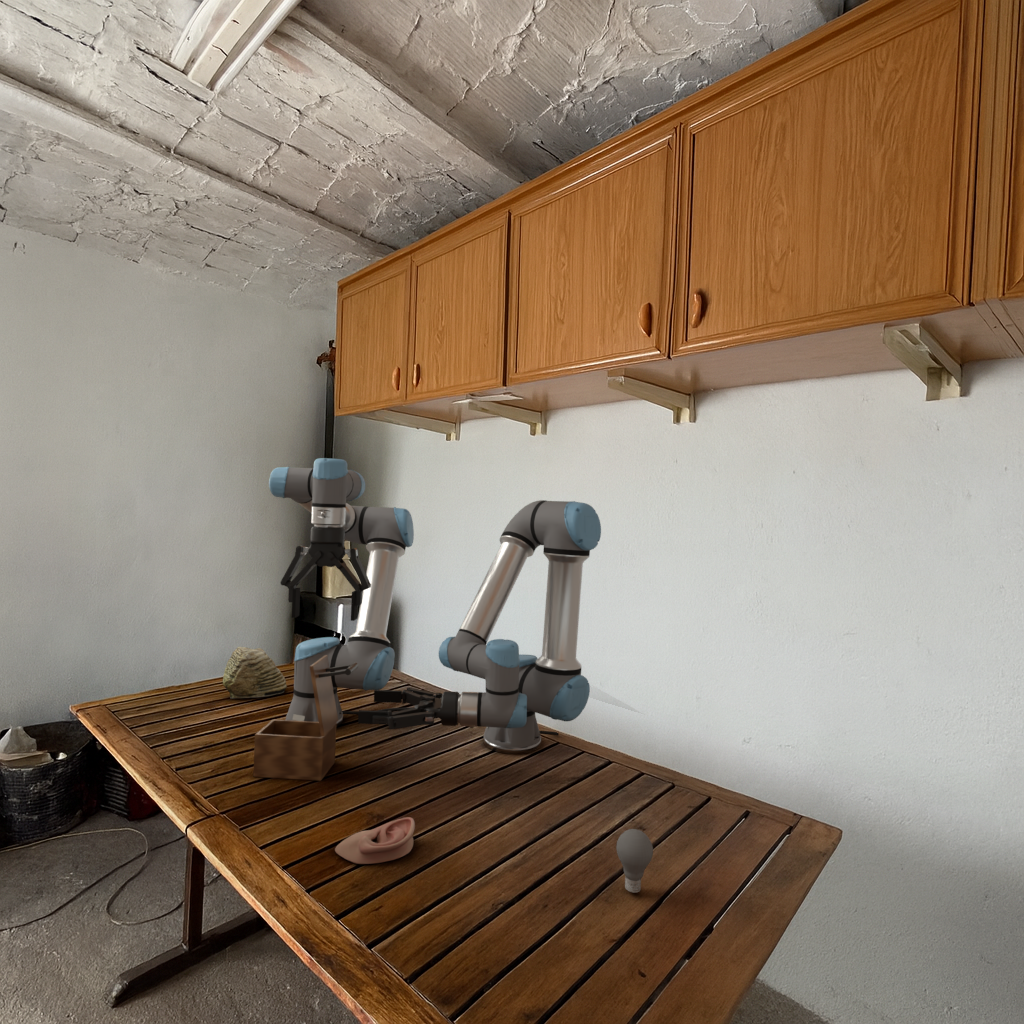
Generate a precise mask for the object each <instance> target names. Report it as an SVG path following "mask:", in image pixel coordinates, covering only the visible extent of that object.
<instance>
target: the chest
mask: <svg viewBox="0 0 1024 1024" xmlns="http://www.w3.org/2000/svg"><path fill="white" fill-rule="evenodd" d="M336 741H337V727H336V724H335V725H334V726H333V727H332V728H331V729H330V730H329V731H328V733H327V734H326V735H325V736H321V733H320V727H319V722H313V721H295V720H286V719H276V718H274V719H271V720H270V721H269V722H268V723H267V724H265V725H264V726H263V727H262V728H261V729H260V730H258V731H257V732H256V733H254V746H253V774H252V776H253V777H254V778H255V777H256V778H273V779H284V780H285V779H287V780H305V781H318V782H319V781H320V782H321V781H322V780H323V779H324V778H325V776H326V775H327V774H328V772H329V771H330V770H331V768H332V767H333V765H335V763H336V745H337V742H336Z"/></svg>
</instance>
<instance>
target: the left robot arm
mask: <svg viewBox="0 0 1024 1024" xmlns="http://www.w3.org/2000/svg"><path fill="white" fill-rule="evenodd" d="M268 487H269V491H270V493H271V494H272V496H273V497H275V498H281V499H290V500H292V501H293V502H295V503H296V504H298V505H300V506H301V507H302V508H304V509H305V511H307V512H309V513H310V514H311V518H310V520H311V521H310V522H311V524H312V525H313V526H311V528H310V544H309V546H305V545H303V544H302V545H297V546H296V547H295V553H294V556H293V558H292V560H291V562H290V563H289V566H288V568H287V569H286V571H285V573H284V575H283V577H282V578H281V580H280V582H279V583H280V585H281V586H284V587H286V588H287V589H288V599H287V601H288V602H289V603H291V618H292V619H295V618H298V617H300V608H301V607H300V605H301V587H298V586H299V584H300V583H301V582H302V581H303V580H304V579H305V578H306V577H307V576H308V575H309V573H310V572H311V571H312V570H314V568H315V567H317V566H318V567H320V568H321V567H328V568H333V567H335V568H337V570H339V571H340V573H341V574H342V575H343V577H344V578H345V579H346V580H347V582H348V583H349V584H350V586H351V587H352V588H353V591H352V592H351V603H350V607H351V608H350V621H351V622H353V621H356V627H355V632H353V633H352V634H351V635H349V636H348V640H347V644H341V641H340V639H339V638H338V637H334V636H325V637H316V638H312V639H307V640H304V641H302V642H299V643H298V644H297V645H296V647H295V654H294V659H293V661H294V670H293V671H294V672H293V695H292V696H293V697H292V699H291V702H290V704H289V708H288V711H287V713H286V715H285V720H295V721H313V722H319V721H318V715H317V709H316V703H315V696H314V690H313V684H312V678H311V672H310V666H311V665H312V664H314V663H315V662H316V661H318V660H319V659H320V658H322V657H323V656H325V655H328V661H329V667H330V668H332V667H339V666H345V665H352V664H353V663H354V662H356V663H357V664H358V667H357V668H356V669H355V670H354V671H353V672H352V673H351V674H350V675H346V674H341V675H334V676H331V679H332V686H333V692H334V698H335V704H336V710H337V716H338V721H337V722H336V728H337V727H339V726H340V725H342V723H343V722H344V715H354V716H355V715H356V716H358V711H359V710H358V711H357V710H343V709H342V706H341V702H340V699H339V695H338V689H354V690H364V691H374V690H383V689H384V688H385V686H387V684H388V683H389V681H390V678H391V677H392V676H391V675H392V673H393V671H394V666H395V657H396V654H395V650H394V648H392V647H391V641H390V640H389V639H388V637H387V631H388V625H389V621H390V620H389V619H390V614H391V608H392V607H391V606H392V603H393V602H392V601H393V595H394V590H395V584H396V577H397V571H398V565H399V559H400V558H401V557H402V556H404V555H405V553H406V548H410V547H412V546H413V544H414V539H415V538H414V536H415V531H414V522H413V517H412V514H411V512H410V510H408V509H407V508H404V507H403V508H402V507H396V506H394V507H390V506H389V507H388V506H386V507H385V506H366V505H350V504H349V503H347V502H348V501H349V502H352V501H355V500H357V499H359V498H361V497H362V496H363V494H364V493H365V491H366V480H365V477H363V475H362V474H361V473H359V472H358V471H356V470H354V469H349V468H348V462H347V460H345V459H341V458H327V457H322V458H321V457H319V458H316V459H315V460H314V462H313V468H312V467H292V466H291V467H290V466H283V467H282V466H281V467H276V468H273V469H272V471H271V472H270V475H269V480H268ZM345 541H347V542H350V543H354V544H357V545H365V549H366V551H367V552H368V553H369V557H368V563H367V567H366V570H365V568H364V565H363V564H362V561H361V559H360V557H359V549H358V547H353V548H346V547H345ZM307 554H308V555H309V556H310V557H311V558H310V560H308V562H307V563H306V565H305V566H304V567H303V568H302V569H300V571H299V573H297V575H295V573H296V571H297V570H298V568H299V566H300V564H301V562H302V560H303V558H304V556H306V555H307ZM346 555H347V557H348V559H350V561H351V564H352V566H353V569H354V571H355V572H356V575H357V577H358V578H357V577H356V575H354V573H353V572H352V570H351V569H350V567H348V565H347V563H346V562H345V560H344V559H343V558H344V557H345V556H346ZM294 575H295V576H294ZM358 607H359V608H358ZM343 670H346V669H342V670H336V671H330V672H337V671H343ZM410 708H411V707H391V708H383V709H378V710H376V711H388V710H390V711H392V712H397V711H401V710H406V709H410Z"/></svg>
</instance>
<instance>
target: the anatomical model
mask: <svg viewBox="0 0 1024 1024" xmlns="http://www.w3.org/2000/svg"><path fill="white" fill-rule="evenodd" d="M415 828H416V823H415V820H414V818H413V817H410V816H409V817H402V818H398V819H395V820H392V821H389V822H386V823H384V824H382V825H380V826H377V827H375V828H372V829H368V830H361V831H358V832H356V833H353V834H352V835H350V836H348V837H346V838H345V839H343V840H342V841H340V843H338V844H337V845H336V846H335V848H334V852H335V853H336V854H337V855H338V856H340V857H341V858H343V859H344V860H347V861H348V862H351V863H353V864H357V865H369V864H370V865H371V864H380V863H385V862H390V861H394V860H398V859H400V858H402V857H404V856H407V855H408V854H409V853H410V852H411V851H412V849H413V847H414V837H413V835H414V833H415Z"/></svg>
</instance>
